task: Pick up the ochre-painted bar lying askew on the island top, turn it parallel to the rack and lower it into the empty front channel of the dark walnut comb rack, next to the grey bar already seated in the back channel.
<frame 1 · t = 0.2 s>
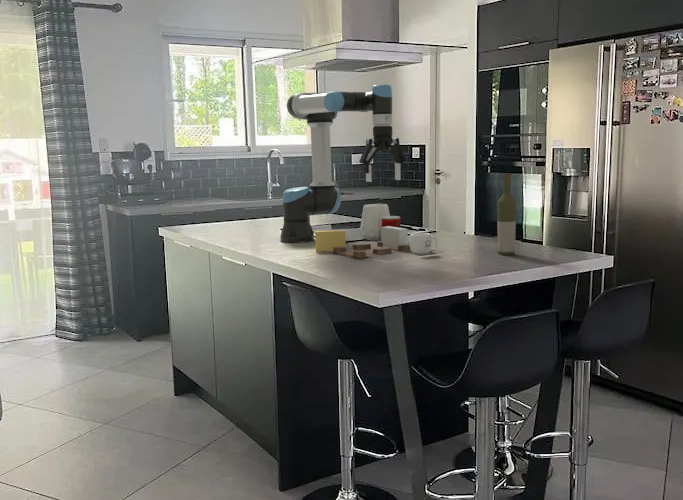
hand: (383, 180, 269), 27 cm above the kitchen island, fingers open, 13 cm apart
vase: (376, 239, 306), on the kitchen island
mug: (424, 254, 263), on the kitchen island
grey bar: (394, 247, 273), point 1 cm above the kitchen island, touching comb rack
ochre bar: (330, 250, 276), on the kitchen island
canned food: (391, 243, 294), on the kitchen island
comb rack: (371, 252, 268), on the kitchen island
bottle: (506, 254, 257), on the kitchen island
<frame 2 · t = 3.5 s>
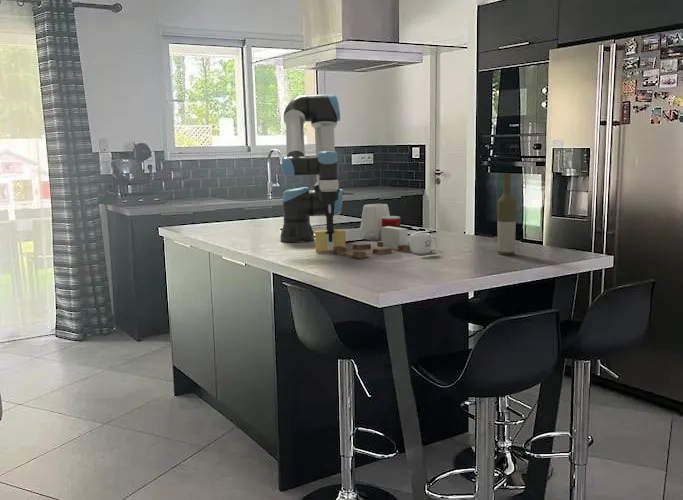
hand: (330, 248, 276), 1 cm above the kitchen island, fingers closed on ochre bar, 4 cm apart
ochre bar: (330, 250, 276), on the kitchen island, touching gripper
everything else where it was.
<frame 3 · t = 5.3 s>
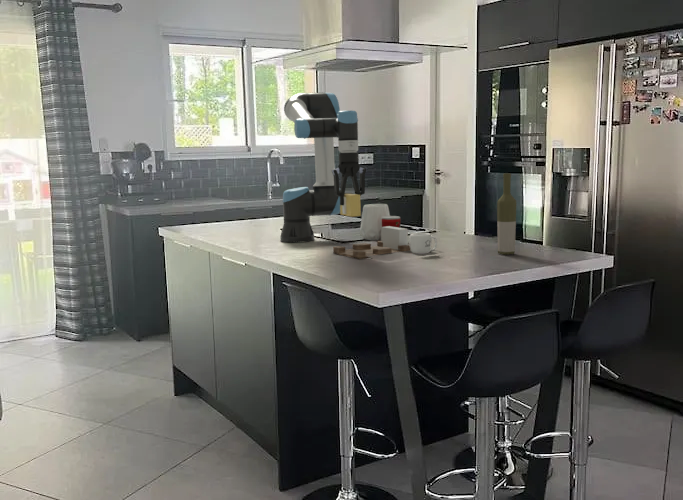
hand: (350, 213, 264), 16 cm above the kitchen island, fingers closed on ochre bar, 4 cm apart
ochre bar: (350, 215, 264), point 15 cm above the kitchen island, touching gripper
everything else where it was.
when the fingers open (4 cm above the kitchen island, at t = 7.2 s): ochre bar drops 2 cm, resting on comb rack.
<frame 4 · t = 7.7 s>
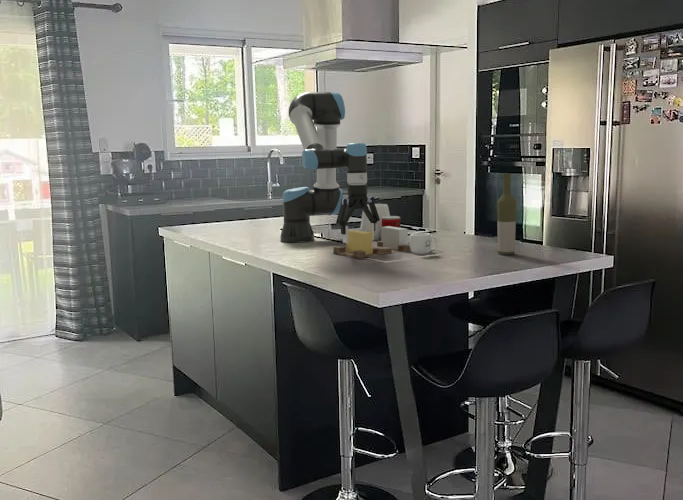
hand: (358, 241, 264), 5 cm above the kitchen island, fingers open, 11 cm apart
ochre bar: (359, 252, 265), point 1 cm above the kitchen island, touching comb rack
everything else where it was.
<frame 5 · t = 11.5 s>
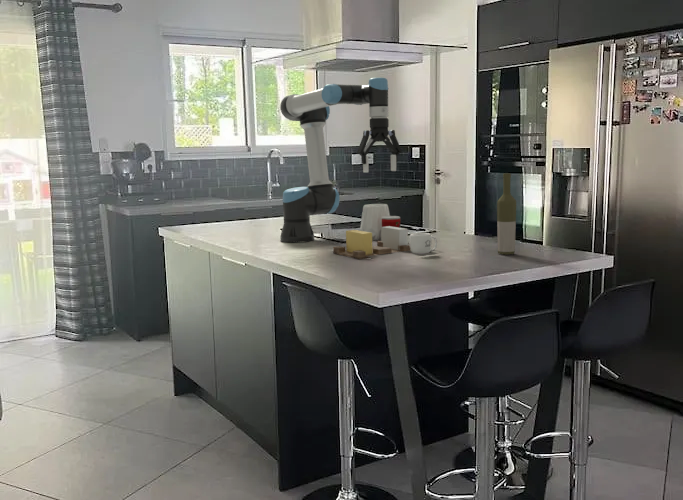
hand: (379, 171, 276), 31 cm above the kitchen island, fingers open, 13 cm apart
nothing on the kitchen island moved.
at the end: ochre bar inside the target area on the comb rack (0.2 cm from its centre), point 0.8 cm above the comb rack's base; ochre bar tilted 0°; the gripper is holding nothing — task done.
